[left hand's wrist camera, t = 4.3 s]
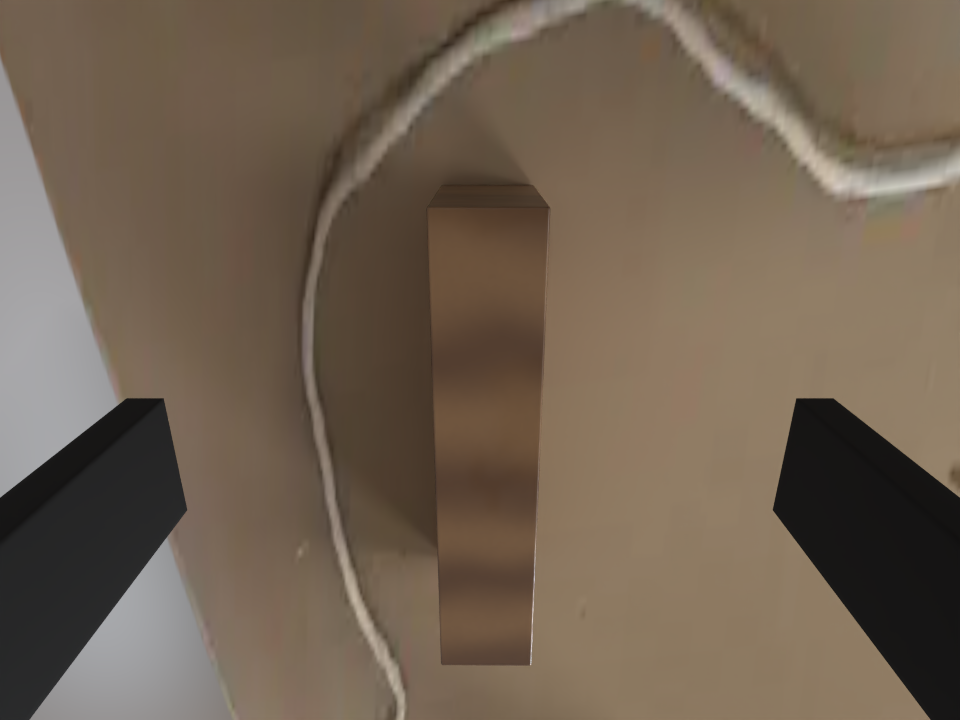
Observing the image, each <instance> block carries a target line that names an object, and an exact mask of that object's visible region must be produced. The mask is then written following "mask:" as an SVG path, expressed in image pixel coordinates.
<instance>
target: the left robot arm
mask: <svg viewBox="0 0 960 720" xmlns="http://www.w3.org/2000/svg"><path fill="white" fill-rule="evenodd" d="M186 511H187V507H186V502H185V497H184V493H183V488H182V483H181V478H180V474H179V469H178V464H177V460H176V455H175V450H174V445H173V441H172V436H171V431H170V426H169V422H168V417H167V412H166V408H165V403H164V398H127V399H125V400H124V401H123V402H122V403H120V404H119V405H118V406H116V407H115V408H114V409H113V410H111V411H110V412H109V413H108V414H106V415H105V416H104V417H102V418H101V419H100V420H99V421H97V422H96V423H95V424H94V425H92V426H91V427H90V428H89V429H87V430H86V431H85V432H83V433H82V434H81V435H80V436H78V437H77V438H76V439H74V440H73V441H72V442H71V443H69V444H68V445H67V446H66V447H64V448H63V449H62V450H60V451H59V452H58V453H57V454H55V455H54V456H53V457H51V458H50V459H49V460H48V461H46V462H45V463H44V464H43V465H41V466H40V467H39V468H37V469H36V470H35V471H34V472H32V473H31V474H30V475H29V476H27V477H26V478H25V479H23V480H22V481H21V482H20V483H18V484H17V485H16V486H15V487H13V488H12V489H11V490H10V491H8V492H7V493H6V494H4V495H3V496H2V497H1V498H0V720H29V719H30V718H31V717H32V715H33V714H34V713H35V711H36V710H37V709H38V707H39V706H40V705H41V703H42V702H43V701H44V700H45V698H46V697H47V696H48V694H49V693H50V692H51V690H52V689H53V687H54V686H55V685H56V684H57V682H58V681H59V680H60V678H61V677H62V676H63V674H64V673H65V672H66V670H67V669H68V668H69V666H70V665H71V664H72V662H73V661H74V660H75V658H76V657H77V656H78V654H79V653H80V652H81V650H82V649H83V648H84V646H85V645H86V644H87V642H88V641H89V640H90V638H91V637H92V636H93V634H94V633H95V632H96V630H97V629H98V628H99V626H100V625H101V624H102V622H103V621H104V620H105V619H106V617H107V616H108V614H109V613H110V612H111V611H112V609H113V608H114V607H115V605H116V604H117V603H118V601H119V600H120V599H121V597H122V596H123V595H124V593H125V592H126V591H127V589H128V588H129V587H130V585H131V584H132V583H133V581H134V580H135V579H136V577H137V576H138V575H139V573H140V572H141V571H142V569H143V568H144V567H145V565H146V564H147V563H148V561H149V560H150V559H151V557H152V556H153V555H154V553H155V552H156V551H157V549H158V548H159V547H160V545H161V544H162V543H163V541H164V540H165V539H166V538H167V536H168V535H169V534H170V532H171V531H172V530H173V528H174V527H175V526H176V524H177V523H178V522H179V520H180V519H181V518H182V516H183V515H184V514H185V512H186ZM773 511H774V512H775V514H776V515H777V516H778V518H779V519H780V520H781V522H782V523H783V524H784V526H785V527H786V528H787V530H788V531H789V532H790V534H791V535H792V536H793V538H794V539H795V540H796V541H797V543H798V544H799V545H800V547H801V548H802V549H803V551H804V552H805V553H806V555H807V556H808V557H809V559H810V560H811V561H812V563H813V564H814V565H815V567H816V568H817V569H818V571H819V572H820V573H821V575H822V576H823V577H824V579H825V580H826V581H827V583H828V584H829V585H830V587H831V588H832V589H833V591H834V592H835V593H836V595H837V596H838V597H839V599H840V600H841V601H842V603H843V604H844V605H845V607H846V608H847V609H848V611H849V612H850V613H851V615H852V616H853V617H854V619H855V620H856V621H857V623H858V624H859V625H860V626H861V628H862V629H863V630H864V632H865V633H866V634H867V636H868V637H869V638H870V640H871V641H872V642H873V644H874V645H875V646H876V648H877V649H878V650H879V652H880V653H881V654H882V656H883V657H884V658H885V660H886V661H887V662H888V664H889V665H890V666H891V668H892V669H893V670H894V672H895V673H896V674H897V676H898V677H899V678H900V680H901V681H902V682H903V684H904V685H905V686H906V688H907V689H908V690H909V692H910V693H911V694H912V696H913V697H914V698H915V700H916V701H917V702H918V704H919V705H920V706H921V708H922V709H923V710H924V711H925V713H926V714H927V715H928V717H929V718H930V719H931V720H960V498H959V497H958V496H957V495H956V494H954V493H953V492H952V491H951V490H949V489H948V488H947V487H945V486H944V485H943V484H942V483H940V482H939V481H938V480H937V479H935V478H934V477H933V476H931V475H930V474H929V473H928V472H926V471H925V470H924V469H923V468H921V467H920V466H919V465H917V464H916V463H915V462H914V461H912V460H911V459H910V458H909V457H907V456H906V455H905V454H903V453H902V452H901V451H900V450H898V449H897V448H896V447H895V446H893V445H892V444H891V443H889V442H888V441H887V440H886V439H884V438H883V437H882V436H880V435H879V434H878V433H877V432H875V431H874V430H873V429H872V428H870V427H869V426H868V425H866V424H865V423H864V422H863V421H861V420H860V419H859V418H858V417H856V416H855V415H854V414H852V413H851V412H850V411H849V410H847V409H846V408H845V407H844V406H842V405H841V404H840V403H838V402H837V401H836V400H835V399H833V398H796V403H795V408H794V412H793V417H792V422H791V426H790V431H789V436H788V441H787V445H786V450H785V455H784V460H783V464H782V469H781V474H780V478H779V483H778V488H777V493H776V497H775V502H774V507H773Z"/></svg>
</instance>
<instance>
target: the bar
mask: <svg viewBox="0 0 960 720" xmlns="http://www.w3.org/2000/svg"><path fill="white" fill-rule="evenodd" d="M549 229H550V207H549V206H548V204H547V203H546V202H545V200H544V199H543V198H542V196H541V195H540V194H539V192H538V191H537V190H536V188H535V187H534V186H533V185H442V186H441V187H440V189H439V190H438V192H437V193H436V195H435V196H434V198H433V199H432V201H431V202H430V204H429V205H428V207H427V234H428V266H429V297H430V328H431V360H432V391H433V423H434V454H435V486H436V517H437V549H438V580H439V612H440V643H441V664H442V665H529V666H530V665H531V658H532V634H533V610H534V586H535V562H536V539H537V515H538V491H539V467H540V443H541V419H542V396H543V372H544V348H545V324H546V300H547V276H548V252H549Z"/></svg>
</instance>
